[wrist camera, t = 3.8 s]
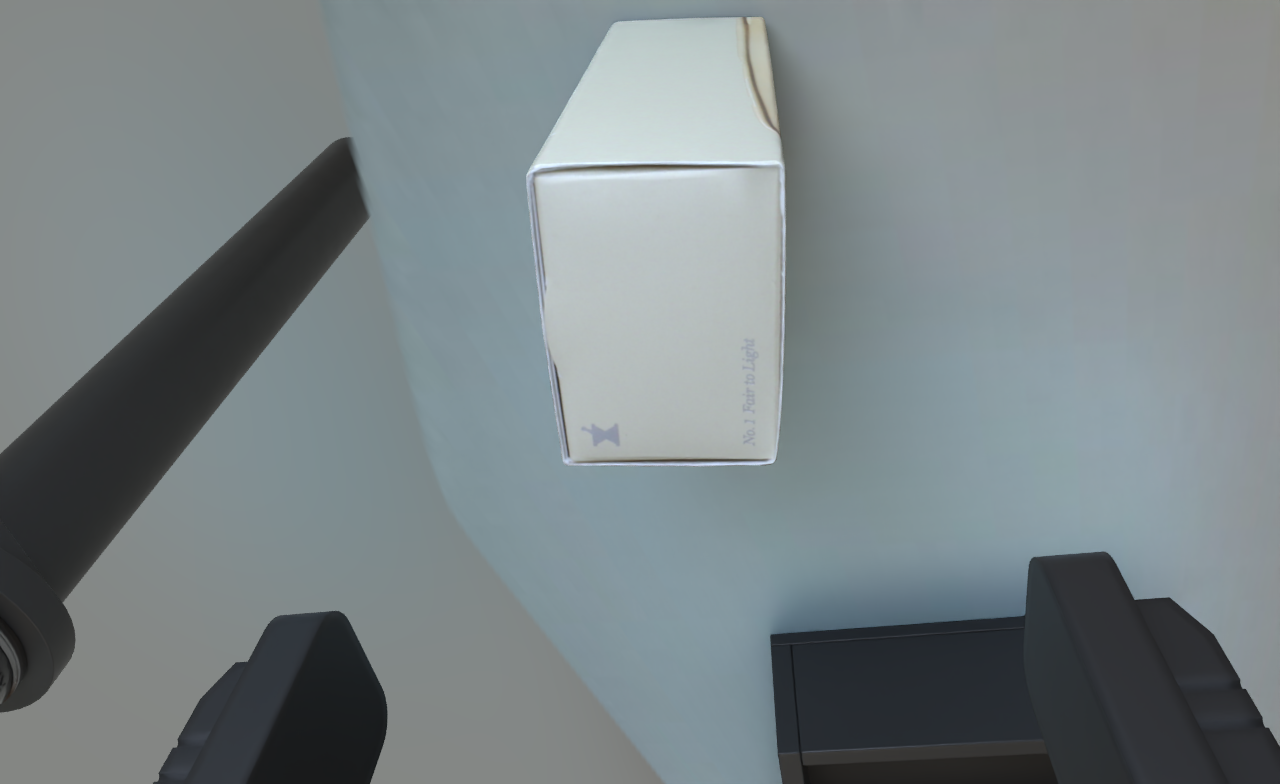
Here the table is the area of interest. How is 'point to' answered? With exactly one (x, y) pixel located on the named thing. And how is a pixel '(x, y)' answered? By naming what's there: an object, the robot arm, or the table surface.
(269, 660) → the robot arm
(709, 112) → the cosmetic box
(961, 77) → the table surface
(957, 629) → the dark grey open box
